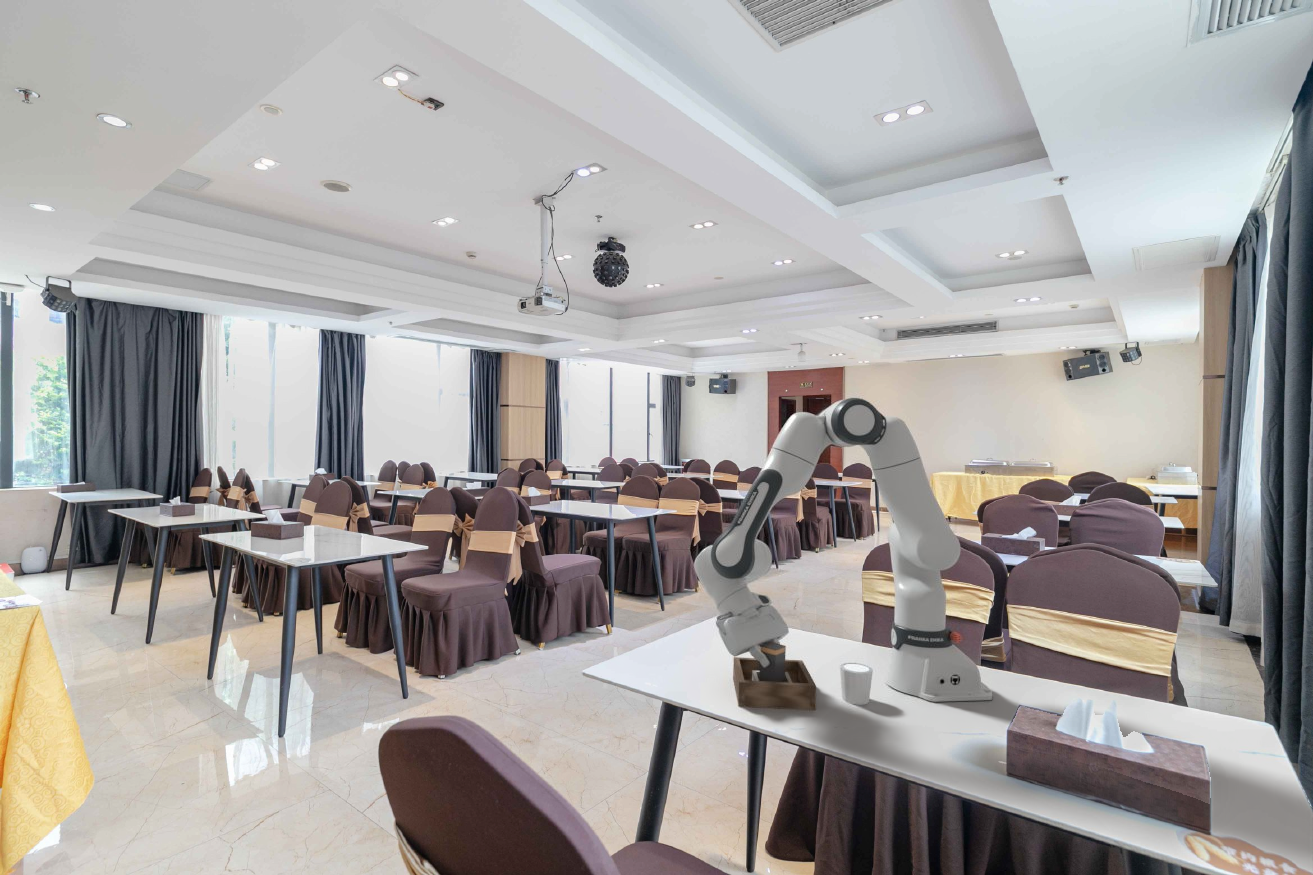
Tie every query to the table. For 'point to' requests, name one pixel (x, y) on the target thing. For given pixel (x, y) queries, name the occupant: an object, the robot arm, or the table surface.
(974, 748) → the table surface
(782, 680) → the dark grey banded block
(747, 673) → the walnut box
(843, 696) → the white cup
